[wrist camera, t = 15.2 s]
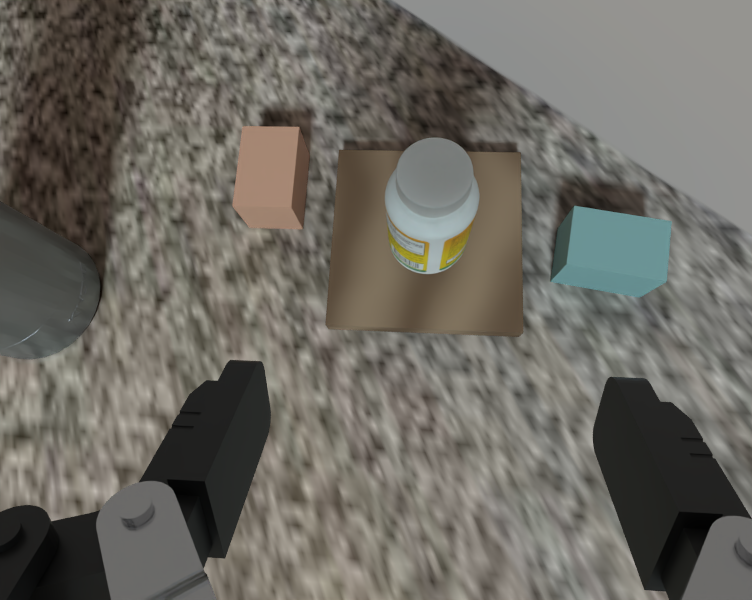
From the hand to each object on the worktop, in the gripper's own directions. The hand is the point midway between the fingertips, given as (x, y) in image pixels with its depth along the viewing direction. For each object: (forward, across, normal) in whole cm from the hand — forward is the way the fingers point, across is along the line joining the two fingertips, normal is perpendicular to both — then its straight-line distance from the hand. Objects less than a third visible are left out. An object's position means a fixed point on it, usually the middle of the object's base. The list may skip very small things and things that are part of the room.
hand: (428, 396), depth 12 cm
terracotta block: (+28, +11, +5) cm, 30 cm away
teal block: (+24, -12, +8) cm, 28 cm away
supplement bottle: (+24, 0, +7) cm, 25 cm away
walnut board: (+25, 0, +8) cm, 26 cm away
